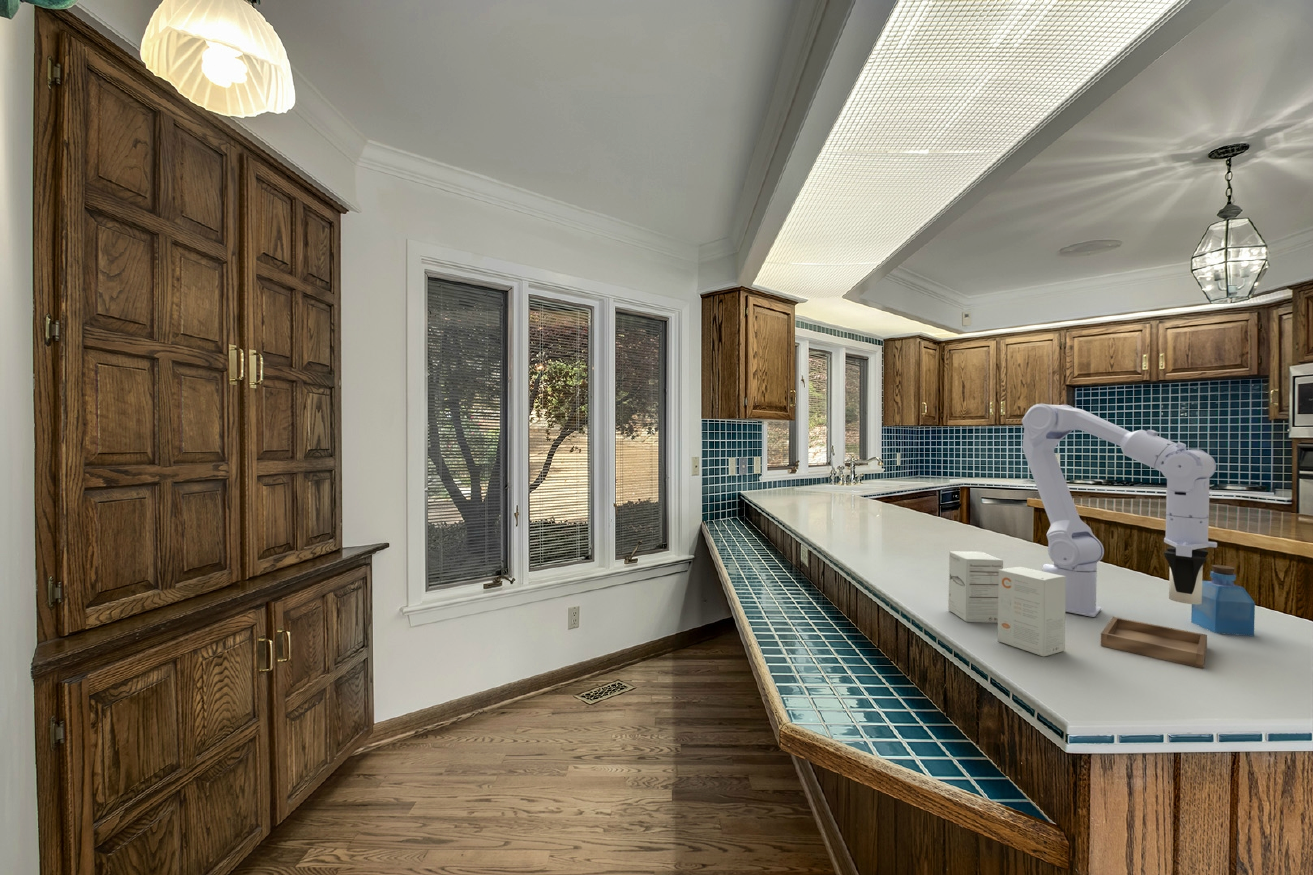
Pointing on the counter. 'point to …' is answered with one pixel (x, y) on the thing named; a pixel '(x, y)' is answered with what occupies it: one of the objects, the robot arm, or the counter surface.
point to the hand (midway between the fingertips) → (1185, 590)
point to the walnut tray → (1155, 641)
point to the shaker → (1184, 597)
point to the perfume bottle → (1224, 605)
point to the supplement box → (974, 586)
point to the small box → (1031, 610)
